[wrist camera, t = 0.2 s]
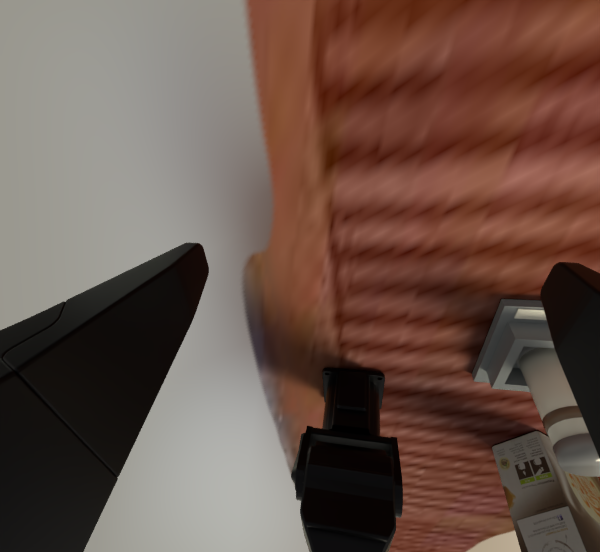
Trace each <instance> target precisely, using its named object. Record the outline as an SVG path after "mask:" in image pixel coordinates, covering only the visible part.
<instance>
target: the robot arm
mask: <svg viewBox="0 0 600 552" xmlns="http://www.w3.org/2000/svg"><path fill="white" fill-rule="evenodd" d="M208 273H209V267H208V263H207V260H206V256H205V252H204V249H203V247H202V245H201V244H199V243H185V244H183V245H181V246H178V247H176V248H174V249H172V250H170V251H168V252H166V253H164V254H162V255H160V256H158V257H156V258H153V259H151V260H149V261H148V262H145V263H143V264H141V265H139V266H137V267H135V268H133V269H131V270H128V271H126V272H124V273H122V274H120V275H118V276H116V277H114V278H112V279H110V280H108V281H106V282H103V283H101V284H99V285H97V286H95V287H93V288H91V289H89V290H87V291H85V292H83V293H81V294H78V295H76V296H74V297H72V298H70V299H68V300H67V301H66V302H62V303H60V304H57V305H55V306H53V307H51V308H49V309H48V310H45V311H43V312H41V313H38V314H36V315H34V316H32V317H30V318H28V319H25V320H23V321H21V322H19V323H16V324H14V325H12V326H9V327H7V328H5V329H3V330H0V552H83V551H84V549H85V547H86V545H87V543H88V541H89V538H90V536H91V534H92V532H93V530H94V528H95V526H96V524H97V522H98V519H99V517H100V515H101V513H102V511H103V509H104V507H105V505H106V503H107V501H108V498H109V496H110V494H111V492H112V490H113V488H114V486H115V484H116V482H117V479H118V478H117V477H118V476H119V475H120V473H121V470H122V468H123V466H124V464H125V462H126V460H127V458H128V456H129V453H130V451H131V449H132V447H133V445H134V443H135V441H136V439H137V437H138V435H139V432H140V430H141V428H142V426H143V424H144V422H145V420H146V418H147V415H148V413H149V411H150V409H151V407H152V405H153V403H154V401H155V399H156V396H157V394H158V392H159V390H160V388H161V386H162V384H163V382H164V379H165V378H166V375H167V373H168V371H169V369H170V367H171V365H172V362H173V360H174V359H175V356H176V354H177V352H178V350H179V348H180V346H181V344H182V342H183V340H184V337H185V335H186V333H187V331H188V329H189V327H190V325H191V323H192V320H193V318H194V315H195V312H196V310H197V306H198V304H199V301H200V298H201V295H202V292H203V289H204V286H205V283H206V280H207V277H208ZM540 295H541V301H542V305H543V308H544V312H545V316H546V319H547V323H548V327H549V330H550V334H551V338H552V341H553V345H554V348H555V351H556V354H557V357H558V359H559V362H560V364H561V367H562V369H563V371H564V374H565V376H566V379H567V381H568V384H569V386H570V388H571V391H572V393H573V396H574V398H575V400H576V403H577V405H578V408H579V410H580V412H581V415H582V417H583V420H584V422H585V425H586V427H587V429H588V432H589V434H590V437H591V439H592V441H593V444H594V446H595V449H596V451H597V454H598V456H599V458H600V273H598V272H596V271H594V270H591V269H589V268H587V267H585V266H583V265H581V264H579V263H569V262H559V263H557V264H555V265H554V266H553V268H552V270H551V272H550V274H549V275H548V277H547V279H546V281H545V283H544V285H543V287H542V289H541V294H540ZM384 381H385V375H384V374H383V373H379V372H367V371H356V370H344V369H333V368H324V369H323V387H324V400H325V411H324V420H323V428H322V429H320V428H313V427H312V426H307V429H306V433H303V434H301V440H300V446H299V451H298V454H297V458H296V461H295V464H294V467H293V470H292V474H291V478H292V480H293V482H294V483H295V490H296V499H297V500H300V501H301V509H300V514H301V520H302V525H303V530H304V536H305V538H306V542H307V545H308V548H309V551H310V552H388V551H389V549H390V546H391V543H392V540H393V537H394V534H395V531H396V517H399V518H401V515H402V506H403V488H402V475H401V467H400V459H399V451H398V443H397V438H396V437H391V438H388V437H381V436H380V409H381V406H382V398H383V389H384Z"/></svg>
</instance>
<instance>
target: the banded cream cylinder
mask: <svg viewBox="0 0 600 552" xmlns="http://www.w3.org/2000/svg"><path fill="white" fill-rule="evenodd" d="M516 363H517V365H518V367H519V368H520V369H521V371H522V374H523V376H524V378H525V381H526V383H527V386H528V388H529V390H530V393H531V395H532V397H533V400H534V402H535V405H536V407H537V409H538V412H539V414H540V416H541V419H542V423H543V426H544V428H545V430H546V433H547V435H548V437H549V438H550V440H551V443H552V445H553V452H554V454H555V456H556V459H557V461H558V464H559V466H560V468H561V469H562V470H564V471H566V472H568V473H570V474H574V475H579V476H588V477H599V476H600V458H599V456H598V454H597V451H596V449H595V446H594V444H593V441H592V439H591V437H590V434H589V432H588V429H587V427H586V425H585V422H584V420H583V417H582V415H581V412H580V410H579V408H578V405H577V403H576V400H575V398H574V396H573V393H572V391H571V388H570V386H569V384H568V381H567V379H566V376H565V374H564V371H563V369H562V367H561V364H560V362H559V359H558V357H557V354H556V351H555V349H554V348H539V347H523V349H522V351H521V353H520V355H519V357H518V359H517V360H516Z"/></svg>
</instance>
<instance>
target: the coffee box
mask: <svg viewBox="0 0 600 552" xmlns="http://www.w3.org/2000/svg"><path fill="white" fill-rule="evenodd" d="M492 450H493V453H494V457H495V460H496V464H497V467H498V471H499V474H500V478H501V482H502V485H503V489H504V492H505V495H506V499H507V503H508V507H509V510H510V514H511V517H512V520H513V524H514V528H515V531H516V535H517V538H518V542H519V545H520V549H521V552H600V481H599V479H598V477H588V476H579V475H574V474H570V473H568V472H566V471H564V470H562V469H561V468H560V466H559V464H558V461H557V459H556V456H555V454H554V452H553V445H552V443H551V440H550V438H549V437H548V436H546V435H544V434H542V433H541V432H539V431H535V432H532V433H529V434H526V435H523V436H521V437H518V438H515V439H512V440H509V441H506V442H504V443H501V444H498V445H495V446H493V447H492Z"/></svg>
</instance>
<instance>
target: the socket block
mask: <svg viewBox="0 0 600 552" xmlns="http://www.w3.org/2000/svg"><path fill="white" fill-rule="evenodd" d="M523 347H539V348H554V345H553V341H552V338H551V334H550V330H549V327H548V323H547V319H546V316H545V312H544V308H543V305H542V301H538V300H515V299H501V301H500V304H499V307H498V309H497V312H496V314H495V317H494V319H493V322H492V324H491V327H490V329H489V332H488V334H487V337H486V340H485V342H484V345H483V347H482V350H481V352H480V355H479V357H478V360H477V362H476V365H475V368H474V370H473V373H472V377H473V380H474V381H476V382H487V383H490V384H491V387H492V388H493V389H504V390H515V391H526V392H530V390H529V388H528V386H527V383H526V381H525V378H524V376H523V374H522V371H521V369H520V368H519V367H518V365H517V363H516V360H517V359H518V357H519V355H520V353H521V351H522V349H523ZM554 349H555V348H554Z"/></svg>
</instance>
